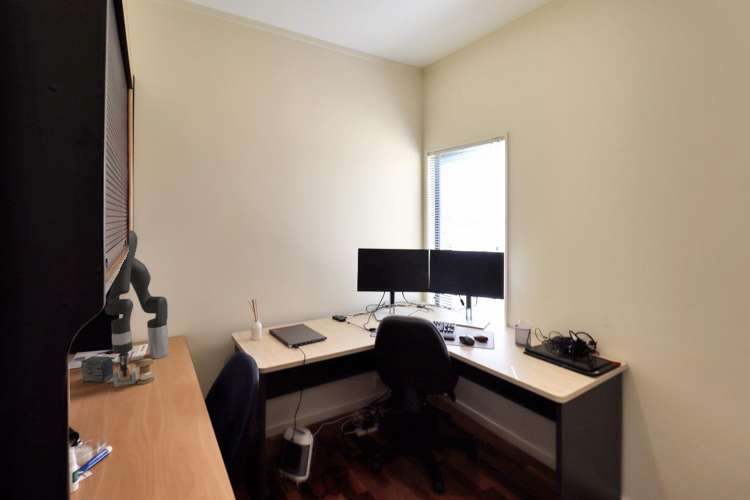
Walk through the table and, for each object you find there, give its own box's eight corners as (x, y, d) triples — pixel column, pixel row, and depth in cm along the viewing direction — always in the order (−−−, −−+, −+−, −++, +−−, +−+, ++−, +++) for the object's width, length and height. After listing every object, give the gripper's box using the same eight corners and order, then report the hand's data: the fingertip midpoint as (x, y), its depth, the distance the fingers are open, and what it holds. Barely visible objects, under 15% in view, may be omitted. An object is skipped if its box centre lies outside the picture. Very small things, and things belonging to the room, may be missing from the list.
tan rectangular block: (120, 378, 169) (119, 366, 168) (130, 376, 171) (129, 364, 170) (119, 381, 166) (118, 369, 165) (130, 379, 168) (129, 367, 167)
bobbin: (137, 379, 171) (135, 360, 169) (154, 375, 174) (153, 357, 173) (136, 385, 165) (135, 366, 163) (154, 381, 168) (153, 362, 167)
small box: (114, 376, 173) (112, 356, 172) (103, 383, 167) (101, 362, 165) (94, 375, 174) (92, 355, 173) (82, 382, 168) (80, 361, 166)
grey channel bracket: (115, 380, 170) (114, 371, 169) (136, 375, 174) (136, 367, 174) (114, 387, 163) (113, 378, 163) (136, 382, 167) (135, 373, 167)
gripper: (113, 338, 170) (116, 372, 172) (110, 347, 158) (114, 384, 161) (132, 335, 174) (135, 368, 176) (131, 344, 162) (134, 380, 164)
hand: (125, 376), depth 168 cm, fingers closed on tan rectangular block
